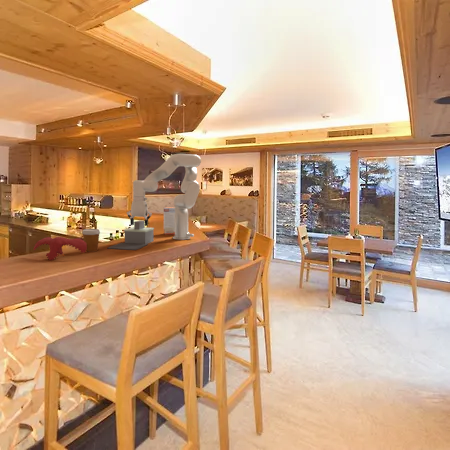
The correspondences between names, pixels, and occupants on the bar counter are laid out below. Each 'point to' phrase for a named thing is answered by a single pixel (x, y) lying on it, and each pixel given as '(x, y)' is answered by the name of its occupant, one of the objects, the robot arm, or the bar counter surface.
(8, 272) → the bar counter surface
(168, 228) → the cracker box
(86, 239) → the disposable coffee cup
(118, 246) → the mat
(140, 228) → the lid
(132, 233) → the box
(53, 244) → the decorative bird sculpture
